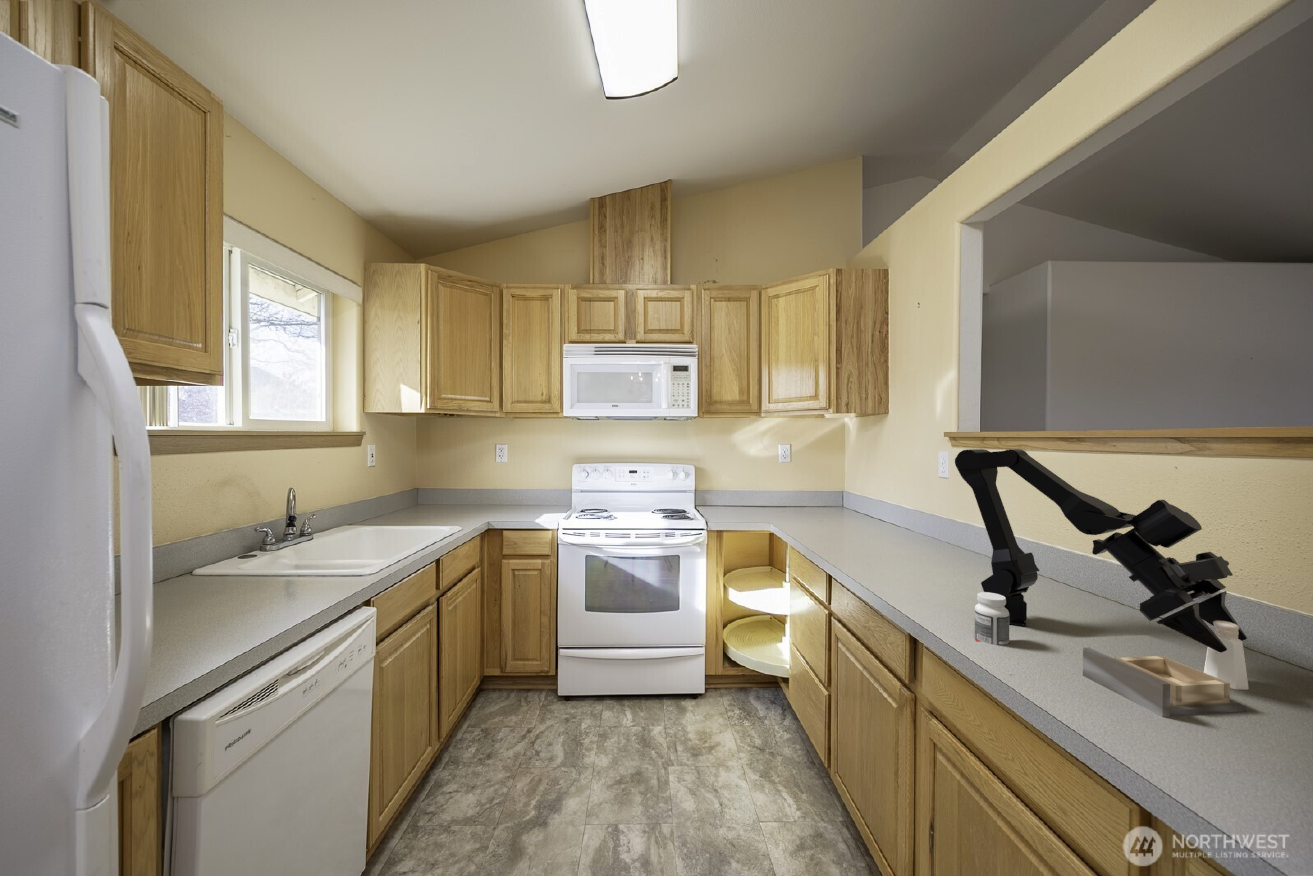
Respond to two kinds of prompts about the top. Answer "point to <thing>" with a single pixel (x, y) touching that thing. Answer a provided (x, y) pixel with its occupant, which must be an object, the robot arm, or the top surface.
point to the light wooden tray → (1183, 681)
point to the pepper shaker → (1227, 657)
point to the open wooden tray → (1141, 686)
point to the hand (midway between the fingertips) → (1234, 645)
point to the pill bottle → (991, 619)
